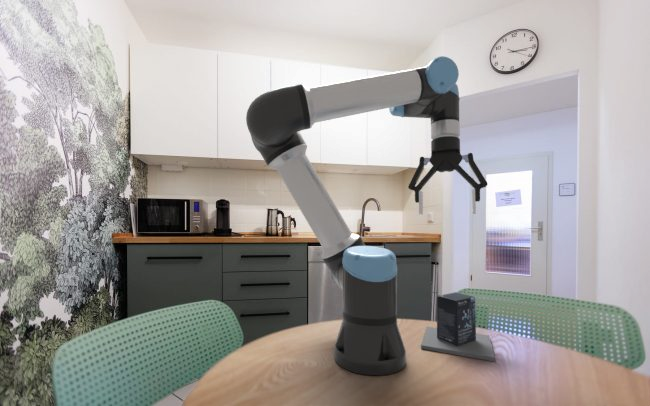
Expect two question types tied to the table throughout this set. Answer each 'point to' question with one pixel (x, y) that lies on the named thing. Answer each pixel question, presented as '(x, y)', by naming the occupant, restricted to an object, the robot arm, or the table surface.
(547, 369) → the table surface
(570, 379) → the table surface
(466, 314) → the box
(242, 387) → the table surface
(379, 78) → the robot arm
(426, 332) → the mat
